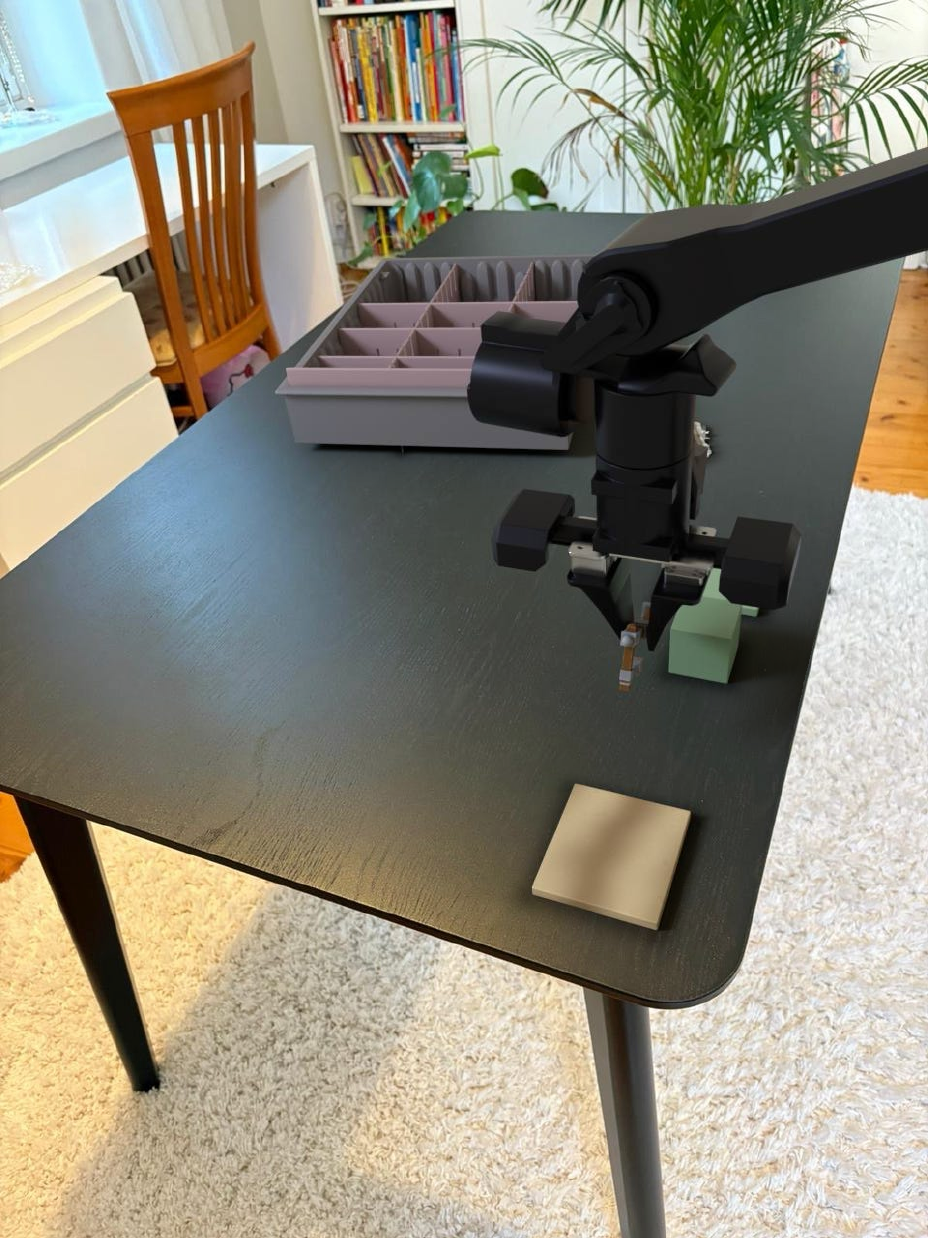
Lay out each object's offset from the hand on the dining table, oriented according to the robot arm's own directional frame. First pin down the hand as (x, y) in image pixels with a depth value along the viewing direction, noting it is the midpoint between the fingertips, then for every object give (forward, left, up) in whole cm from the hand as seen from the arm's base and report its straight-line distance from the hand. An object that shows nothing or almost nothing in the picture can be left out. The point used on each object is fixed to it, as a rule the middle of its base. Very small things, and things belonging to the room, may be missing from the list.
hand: (640, 645), depth 67 cm
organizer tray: (+35, -51, -8) cm, 62 cm away
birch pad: (-1, +12, -8) cm, 14 cm away
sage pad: (-2, -18, -8) cm, 20 cm away
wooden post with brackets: (0, 0, -1) cm, 1 cm away
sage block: (-3, -8, -8) cm, 11 cm away
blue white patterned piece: (+6, -41, -8) cm, 42 cm away
